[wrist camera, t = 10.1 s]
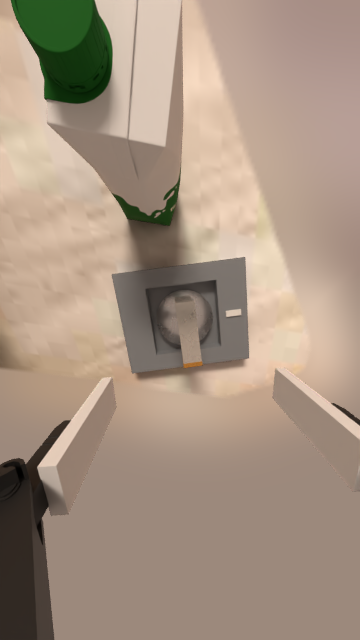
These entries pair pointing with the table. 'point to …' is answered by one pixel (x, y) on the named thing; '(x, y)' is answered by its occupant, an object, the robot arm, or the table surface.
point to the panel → (155, 284)
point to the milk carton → (115, 92)
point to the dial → (185, 323)
